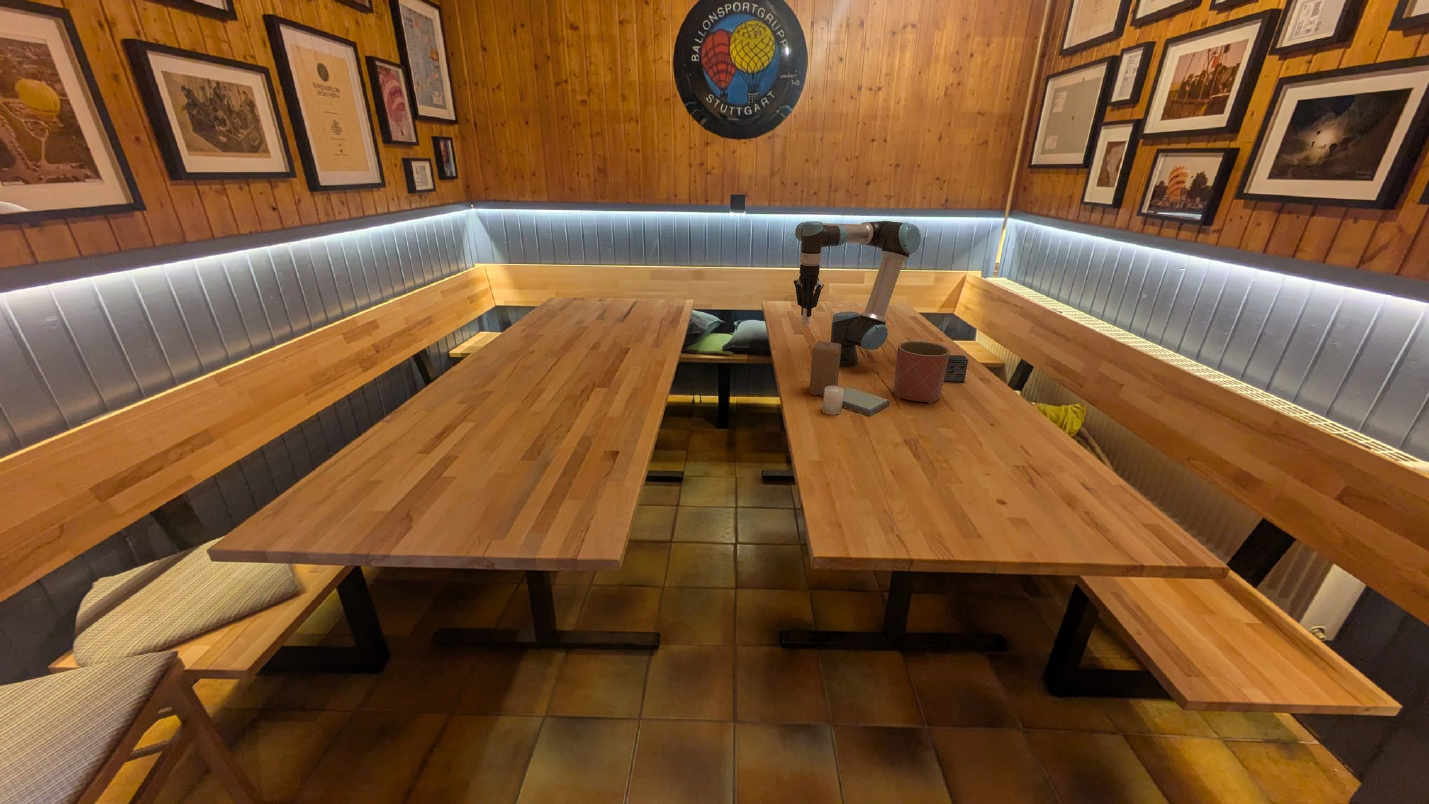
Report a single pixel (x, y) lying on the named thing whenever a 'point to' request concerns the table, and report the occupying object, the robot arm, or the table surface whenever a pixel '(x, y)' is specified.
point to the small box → (956, 369)
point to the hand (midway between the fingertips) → (805, 324)
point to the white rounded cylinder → (833, 399)
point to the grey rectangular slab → (863, 402)
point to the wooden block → (824, 366)
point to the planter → (920, 370)
